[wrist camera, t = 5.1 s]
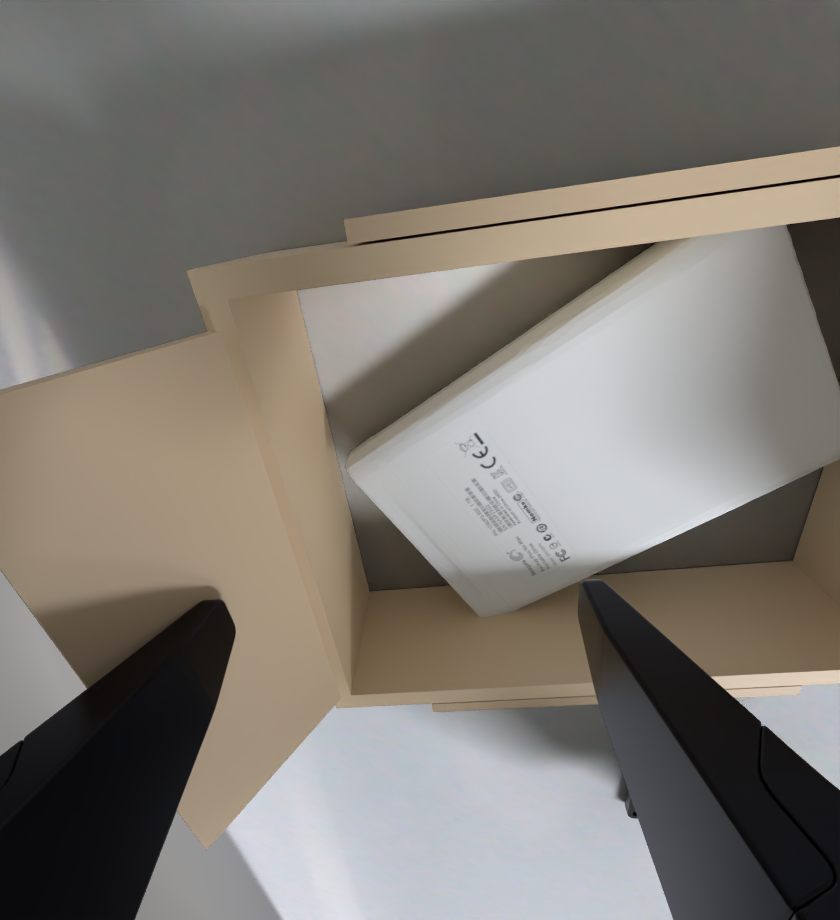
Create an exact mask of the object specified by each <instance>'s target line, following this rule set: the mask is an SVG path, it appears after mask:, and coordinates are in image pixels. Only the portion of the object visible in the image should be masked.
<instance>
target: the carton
mask: <svg viewBox="0 0 840 920" xmlns="http://www.w3.org/2000/svg"><path fill="white" fill-rule="evenodd" d="M838 217H840V146H839V147H832V148H825V149H819V150H812V151H805V152H798V153H791V154H785V155H778V156H771V157H764V158H757V159H751V160H744V161H737V162H730V163H723V164H717V165H710V166H703V167H696V168H689V169H683V170H676V171H669V172H662V173H655V174H649V175H642V176H635V177H628V178H621V179H615V180H608V181H601V182H594V183H587V184H581V185H574V186H567V187H560V188H553V189H547V190H540V191H533V192H526V193H519V194H513V195H506V196H499V197H492V198H485V199H479V200H472V201H465V202H458V203H451V204H444V205H438V206H431V207H424V208H417V209H410V210H404V211H397V212H390V213H383V214H376V215H370V216H363V217H356V218H349V219H343V222H344V227H345V233H346V238H347V241H343V242H336V243H329V244H322V245H315V246H308V247H301V248H294V249H287V250H280V251H273V252H266V253H262V254H257V255H253V256H248V257H244V258H239V259H234V260H230V261H225V262H221V263H216V264H212V265H207V266H203V267H198V268H194V269H189V270H186V271H187V274H188V277H189V280H190V283H191V286H192V289H193V292H194V295H195V298H196V301H197V303H198V306H199V309H200V312H201V315H202V318H203V321H204V324H205V327H206V330H207V331H220V333H221V336H222V339H223V342H224V345H225V348H226V351H227V354H228V357H229V360H230V363H231V366H232V369H233V372H234V375H235V378H236V381H237V384H238V387H239V390H240V393H241V396H242V399H243V402H244V405H245V408H246V411H247V415H248V418H249V421H250V424H251V427H252V430H253V433H254V436H255V439H256V442H257V445H258V448H259V451H260V454H261V457H262V460H263V463H264V466H265V469H266V472H267V475H268V478H269V481H270V484H271V487H272V490H273V493H274V496H275V499H276V502H277V505H278V508H279V511H280V514H281V518H282V521H283V524H284V527H285V530H286V533H287V536H288V539H289V542H290V545H291V548H292V551H293V554H294V557H295V560H296V563H297V566H298V569H299V572H300V575H301V578H302V581H303V584H304V587H305V590H306V593H307V596H308V599H309V602H310V605H311V608H312V611H313V614H314V617H315V621H316V624H317V627H318V630H319V633H320V636H321V639H322V642H323V645H324V648H325V651H326V654H327V657H328V660H329V663H330V666H331V669H332V672H333V675H334V678H335V681H336V684H337V687H338V690H339V693H340V696H341V699H340V700H339V701H338V702H337V703H336V704H335V705H336V708H351V707H371V706H391V705H411V704H431V703H432V706H433V712H449V711H470V710H490V709H511V708H532V707H553V706H574V705H595V704H598V701H597V698H596V694H595V690H594V686H593V682H592V677H591V673H590V668H589V664H588V660H587V655H586V651H585V646H584V642H583V638H582V633H581V629H580V624H579V619H578V595H579V584H580V582H581V581H582V580H589V579H601V580H603V581H605V582H606V583H607V584H608V585H609V586H610V587H611V588H613V589H614V590H615V591H616V592H617V593H618V594H619V595H620V596H621V597H623V598H624V599H625V600H626V601H627V602H628V603H629V604H630V605H631V606H633V607H634V608H635V609H636V610H637V611H638V612H639V613H640V614H641V615H643V616H644V617H645V618H646V619H647V620H648V621H649V622H650V623H651V624H653V625H654V626H655V627H656V628H657V629H658V630H659V631H660V632H661V633H663V634H664V635H665V636H666V637H667V638H668V639H669V640H670V641H671V642H673V643H674V644H675V645H676V646H677V647H678V648H679V649H680V650H682V651H683V652H684V653H685V654H686V655H687V656H688V657H689V658H690V659H692V660H693V661H694V662H695V663H696V664H697V665H698V666H699V667H700V668H702V669H703V670H704V671H705V672H706V673H707V674H708V675H709V676H710V677H712V678H713V679H714V680H715V681H716V682H717V683H718V684H719V685H720V686H722V687H723V688H724V689H725V690H726V691H727V692H728V693H729V694H730V695H732V696H733V697H734V698H741V697H761V696H782V695H799V692H800V690H801V688H802V685H813V684H834V683H840V459H839V460H836V461H834V462H832V463H830V464H828V465H825V466H824V468H823V471H822V474H821V477H820V480H819V483H818V486H817V489H816V492H815V495H814V498H813V501H812V504H811V507H810V510H809V513H808V517H807V520H806V523H805V526H804V529H803V532H802V535H801V538H800V541H799V544H798V547H797V550H796V553H795V556H794V559H793V561H782V562H769V563H755V564H741V565H727V566H713V567H700V568H686V569H672V570H658V571H644V572H631V573H617V574H603V575H591V576H589V577H587V578H585V579H582V580H580V581H578V582H576V583H574V584H572V585H569V586H567V587H565V588H563V589H561V590H559V591H556V592H554V593H552V594H550V595H548V596H546V597H543V598H541V599H539V600H537V601H535V602H532V603H530V604H528V605H526V606H524V607H521V608H519V609H517V610H516V611H513V612H510V613H506V614H501V615H495V616H489V617H479V616H478V615H477V614H476V613H475V611H474V610H473V609H472V608H471V607H470V606H469V605H468V604H467V603H466V602H465V601H464V600H463V599H462V597H461V596H460V595H459V594H458V593H457V592H456V591H455V590H454V589H453V588H452V587H451V586H438V587H424V588H410V589H396V590H383V591H369V587H368V583H367V579H366V575H365V571H364V567H363V562H362V558H361V554H360V550H359V546H358V542H357V538H356V533H355V529H354V525H353V521H352V517H351V513H350V509H349V505H348V500H347V496H346V492H345V488H344V484H343V480H342V476H341V471H340V467H339V463H338V459H337V455H336V451H335V447H334V443H333V438H332V434H331V430H330V426H329V422H328V418H327V414H326V409H325V405H324V401H323V397H322V393H321V389H320V385H319V380H318V376H317V372H316V368H315V364H314V360H313V356H312V352H311V347H310V343H309V339H308V335H307V331H306V327H305V323H304V318H303V314H302V310H301V306H300V302H299V298H298V294H297V290H302V289H309V288H317V287H324V286H332V285H339V284H346V283H354V282H361V281H369V280H376V279H384V278H391V277H399V276H406V275H414V274H421V273H428V272H436V271H443V270H451V269H458V268H466V267H473V266H481V265H488V264H496V263H503V262H510V261H518V260H525V259H533V258H540V257H548V256H555V255H563V254H570V253H578V252H585V251H592V250H600V249H607V248H615V247H622V246H630V245H637V244H645V243H652V242H660V241H667V240H674V239H682V238H689V237H697V236H704V235H712V234H719V233H727V232H734V231H741V230H749V229H756V228H764V227H771V226H779V225H786V224H794V223H801V222H809V221H816V220H823V219H831V218H838Z"/></svg>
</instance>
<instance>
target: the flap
mask: <svg viewBox="0 0 840 920" xmlns="http://www.w3.org/2000/svg"><path fill="white" fill-rule="evenodd" d="M0 570H1V572H2V573H3V574H4V576H5V577H6V579H7V580H8V581H9V583H10V584H11V585H12V587H13V588H14V589H15V591H16V592H17V593H18V595H19V596H20V598H21V599H22V600H23V602H24V603H25V604H26V606H27V607H28V609H29V610H30V611H31V612H32V614H33V615H34V617H35V618H36V619H37V621H38V622H39V624H40V625H41V626H42V628H43V629H44V630H45V632H46V633H47V635H48V636H49V637H50V639H51V640H52V641H53V643H54V644H55V645H56V647H57V648H58V650H59V651H60V652H61V653H62V655H63V656H64V658H65V659H66V660H67V662H68V663H69V665H70V666H71V667H72V669H73V670H74V671H75V673H76V674H77V675H78V677H79V678H80V680H81V681H82V682H83V684H84V685H85V686H86V688H87V689H88V688H89V687H90V686H92V685H93V684H94V683H96V682H97V681H98V680H99V679H101V678H102V677H103V676H105V675H106V674H107V673H109V672H110V671H111V670H112V669H114V668H115V667H116V666H118V665H119V664H120V663H121V662H123V661H124V660H125V659H127V658H128V657H129V656H131V655H132V654H133V653H134V652H136V651H137V650H138V649H140V648H141V647H142V646H143V645H145V644H146V643H147V642H149V641H150V640H151V639H153V638H154V637H155V636H156V635H158V634H159V633H160V632H162V631H163V630H164V629H166V628H167V627H168V626H169V625H171V624H172V623H173V622H175V621H176V620H177V619H178V618H180V617H181V616H182V615H184V614H185V613H186V612H188V611H189V610H190V609H191V608H193V607H194V606H195V605H197V604H198V603H199V602H201V601H203V600H211V599H221V600H223V601H224V602H225V604H226V606H227V608H228V610H229V613H230V615H231V617H232V619H233V622H234V624H235V627H236V636H235V640H234V644H233V648H232V651H231V655H230V659H229V662H228V666H227V670H226V673H225V677H224V680H223V684H222V688H221V691H220V695H219V698H218V702H217V705H216V708H215V711H214V714H213V717H212V719H211V722H210V725H209V727H208V730H207V733H206V735H205V738H204V740H203V743H202V746H201V748H200V751H199V753H198V756H197V759H196V761H195V764H194V766H193V769H192V772H191V774H190V777H189V780H188V782H187V785H186V787H185V790H184V793H183V795H182V798H181V800H180V803H179V806H178V808H177V812H178V813H179V815H180V816H181V817H182V819H183V820H184V822H185V823H186V824H187V826H188V827H189V828H190V830H191V831H192V832H193V834H194V835H195V837H196V838H197V839H198V841H199V842H200V843H201V844H202V846H203V847H204V848H205V850H207V849H208V848H209V847H210V846H211V845H212V843H213V842H214V841H215V840H216V839H217V838H218V837H219V836H220V835H221V833H222V832H223V831H224V830H225V829H226V828H227V827H228V826H229V824H230V823H231V822H232V821H233V820H234V819H235V818H236V817H237V815H238V814H239V813H240V812H241V811H242V810H243V809H244V807H245V806H246V805H247V804H248V803H249V802H250V801H251V800H252V798H253V797H254V796H255V795H256V794H257V793H258V792H259V790H260V789H261V788H262V787H263V786H264V785H265V784H266V782H267V781H268V780H269V779H270V778H271V777H272V776H273V775H274V773H275V772H276V771H277V770H278V769H279V768H280V767H281V765H282V764H283V763H284V762H285V761H286V760H287V759H288V758H289V756H290V755H291V754H292V753H293V752H294V751H295V750H296V748H297V747H298V746H299V745H300V744H301V743H302V742H303V741H304V739H305V738H306V737H307V736H308V735H309V734H310V733H311V731H312V730H313V729H314V728H315V727H316V726H317V725H318V724H319V722H320V721H321V720H322V719H323V718H324V717H325V716H326V714H327V713H328V712H329V711H330V710H331V709H332V708H333V707H334V705H335V704H336V703H337V702H338V701H339V700H340V699H341V696H340V693H339V690H338V687H337V684H336V681H335V678H334V675H333V672H332V669H331V666H330V663H329V660H328V657H327V654H326V651H325V648H324V645H323V642H322V639H321V636H320V633H319V630H318V627H317V624H316V621H315V617H314V614H313V611H312V608H311V605H310V602H309V599H308V596H307V593H306V590H305V587H304V584H303V581H302V578H301V575H300V572H299V569H298V566H297V563H296V560H295V557H294V554H293V551H292V548H291V545H290V542H289V539H288V536H287V533H286V530H285V527H284V524H283V521H282V518H281V514H280V511H279V508H278V505H277V502H276V499H275V496H274V493H273V490H272V487H271V484H270V481H269V478H268V475H267V472H266V469H265V466H264V463H263V460H262V457H261V454H260V451H259V448H258V445H257V442H256V439H255V436H254V433H253V430H252V427H251V424H250V421H249V418H248V415H247V411H246V408H245V405H244V402H243V399H242V396H241V393H240V390H239V387H238V384H237V381H236V378H235V375H234V372H233V369H232V366H231V363H230V360H229V357H228V354H227V351H226V348H225V345H224V342H223V339H222V336H221V333H220V331H207V332H203V333H200V334H196V335H193V336H189V337H185V338H182V339H178V340H175V341H171V342H168V343H164V344H161V345H157V346H154V347H150V348H146V349H143V350H139V351H136V352H132V353H129V354H125V355H122V356H118V357H115V358H111V359H108V360H104V361H100V362H97V363H93V364H90V365H86V366H83V367H79V368H76V369H72V370H69V371H65V372H61V373H58V374H54V375H51V376H47V377H44V378H40V379H37V380H33V381H30V382H26V383H22V384H19V385H15V386H12V387H8V388H5V389H1V390H0Z"/></svg>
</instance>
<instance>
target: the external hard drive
mask: <svg viewBox="0 0 840 920" xmlns="http://www.w3.org/2000/svg"><path fill="white" fill-rule="evenodd" d="M839 459H840V385H839V383H838V380H837V377H836V374H835V371H834V368H833V365H832V362H831V358H830V355H829V352H828V350H827V346H826V343H825V341H824V337H823V335H822V332H821V329H820V326H819V323H818V321H817V315H816V312H815V309H814V306H813V303H812V301H811V298H810V295H809V291H808V289H807V286H806V283H805V280H804V277H803V272H802V269H801V267H800V265H799V263H798V259H797V255H796V252H795V249H794V247H793V243H792V239H791V236H790V234H789V232H788V229H787V225H779V226H771V227H764V228H756V229H749V230H741V231H734V232H727V233H719V234H712V235H704V236H697V237H689V238H682V239H674V240H667V241H660V242H657V243H655V244H654V245H652V246H651V247H649V248H648V249H646V250H645V251H643V252H642V253H640V254H639V255H637V256H636V257H634V258H633V259H632V260H630V261H629V262H627V263H626V264H624V265H623V266H621V267H620V268H618V269H617V270H615V271H614V272H613V273H611V274H610V275H608V276H607V277H605V278H604V279H603V280H601V281H600V282H598V283H597V284H595V285H594V286H592V287H591V288H589V289H588V290H586V291H585V292H583V293H582V294H580V295H579V296H577V297H576V298H575V299H573V300H572V301H570V302H569V303H568V304H566V305H565V306H563V307H562V308H560V309H558V310H557V311H555V312H554V313H552V314H551V315H550V316H548V317H547V318H545V319H544V320H542V321H541V322H539V323H538V324H536V325H535V326H534V327H532V328H531V329H529V330H528V331H526V332H525V333H524V334H522V335H521V336H519V337H518V338H516V339H515V340H513V341H512V342H510V343H509V344H507V345H506V346H504V347H503V348H501V349H500V350H498V351H497V352H495V353H494V354H493V355H491V356H490V357H488V358H487V359H485V360H484V361H482V362H481V363H479V364H478V365H476V366H475V367H473V368H472V369H471V370H469V371H468V372H466V373H465V374H464V375H462V376H461V377H459V378H458V379H456V380H455V381H453V382H452V383H450V384H449V385H448V386H446V387H445V388H443V389H441V390H440V391H439V392H437V393H436V394H434V395H433V396H431V397H430V398H428V399H427V400H426V401H424V402H423V403H421V404H420V405H418V406H417V407H415V408H414V409H412V410H411V411H409V412H408V413H407V414H405V415H403V416H402V417H401V418H399V419H398V420H396V421H395V422H393V423H392V424H390V425H389V426H387V427H386V428H384V429H383V430H381V431H380V432H378V433H377V434H375V435H373V436H371V437H370V438H369V439H367V440H366V441H364V442H363V443H362V444H360V445H359V446H357V447H355V448H354V449H352V450H351V451H350V455H349V458H348V460H347V463H346V465H345V468H346V471H347V472H348V474H349V475H350V477H351V478H352V480H353V481H354V482H355V483H356V484H357V485H358V486H359V487H360V489H361V490H362V491H363V492H364V493H365V494H366V495H367V496H368V497H369V498H370V499H371V500H372V501H373V503H374V504H375V505H376V506H377V507H378V508H379V509H380V510H381V511H382V512H383V513H384V514H385V515H386V516H387V517H388V518H389V519H390V520H391V521H392V523H393V524H394V525H395V526H396V527H397V528H398V529H399V530H400V531H401V532H402V533H403V535H404V536H405V537H406V538H407V539H408V540H409V541H410V542H411V543H412V544H413V545H414V546H415V547H416V549H417V550H418V551H419V552H420V553H421V554H422V555H423V556H424V557H425V559H426V560H427V561H428V562H429V563H430V564H431V565H432V566H433V567H434V568H435V569H436V570H437V571H438V573H439V574H440V575H441V576H442V577H443V578H444V579H445V580H446V581H447V582H448V583H449V584H450V586H451V587H452V588H453V589H454V590H455V591H456V592H457V593H458V594H459V595H460V596H461V597H462V599H463V600H464V601H465V602H466V603H467V604H468V605H469V606H470V607H471V608H472V609H473V610H474V611H475V613H476V614H477V615H478V616H479V617H489V616H495V615H501V614H506V613H510V612H513V611H516V610H517V609H519V608H521V607H524V606H526V605H528V604H530V603H532V602H535V601H537V600H539V599H541V598H543V597H546V596H548V595H550V594H552V593H554V592H556V591H559V590H561V589H563V588H565V587H567V586H569V585H572V584H574V583H576V582H578V581H580V580H582V579H585V578H587V577H589V576H591V575H593V574H595V573H597V572H600V571H602V570H604V569H606V568H608V567H610V566H612V565H614V564H616V563H619V562H621V561H623V560H625V559H627V558H629V557H632V556H634V555H636V554H638V553H640V552H643V551H645V550H647V549H649V548H651V547H653V546H655V545H658V544H660V543H662V542H664V541H666V540H668V539H670V538H673V537H675V536H677V535H679V534H681V533H683V532H685V531H687V530H690V529H692V528H694V527H696V526H698V525H700V524H703V523H705V522H707V521H709V520H711V519H713V518H716V517H718V516H720V515H722V514H724V513H727V512H729V511H731V510H733V509H735V508H737V507H739V506H741V505H743V504H745V503H748V502H750V501H752V500H754V499H756V498H758V497H760V496H762V495H764V494H767V493H769V492H771V491H773V490H775V489H777V488H779V487H781V486H784V485H786V484H788V483H790V482H792V481H794V480H796V479H798V478H800V477H803V476H805V475H807V474H809V473H811V472H813V471H815V470H817V469H819V468H821V467H823V466H825V465H828V464H830V463H832V462H834V461H836V460H839Z"/></svg>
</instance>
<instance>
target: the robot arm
mask: <svg viewBox="0 0 840 920" xmlns="http://www.w3.org/2000/svg"><path fill="white" fill-rule="evenodd" d="M578 619H579V624H580V629H581V633H582V638H583V642H584V646H585V651H586V655H587V660H588V664H589V668H590V673H591V677H592V682H593V686H594V690H595V694H596V698H597V701H598V704H599V707H600V710H601V713H602V716H603V719H604V722H605V725H606V728H607V731H608V734H609V736H610V739H611V742H612V745H613V748H614V751H615V754H616V756H617V759H618V762H619V765H620V768H621V771H622V774H623V776H624V779H625V782H626V785H627V788H628V790H627V797H626V803H625V807H626V810H627V814H628V816H629V817H631V818H638V819H639V822H640V825H641V828H642V831H643V834H644V837H645V840H646V842H647V845H648V848H649V851H650V854H651V857H652V860H653V862H654V865H655V868H656V871H657V874H658V877H659V880H660V882H661V885H662V888H663V891H664V894H665V897H666V900H667V903H668V905H669V908H670V911H671V914H672V917H673V920H840V790H839V789H838V788H837V787H835V786H834V785H833V784H832V783H830V782H829V781H828V780H827V779H825V778H824V777H823V776H822V775H821V774H820V773H819V772H817V771H816V770H815V769H814V768H813V767H812V766H810V765H809V764H808V763H807V762H806V761H805V760H804V759H802V758H801V757H800V756H799V755H798V754H797V753H795V752H794V751H793V750H792V749H791V748H790V747H789V746H787V745H786V744H785V743H784V742H783V741H782V740H781V739H780V738H779V737H777V736H776V735H775V734H774V733H773V732H772V731H771V730H770V729H769V728H767V727H766V726H762V727H761V722H760V721H759V720H758V719H757V718H756V717H755V716H754V715H753V714H752V713H750V712H749V711H748V710H747V709H746V708H745V707H744V706H743V705H742V704H740V703H739V702H738V701H737V700H736V699H735V698H734V697H733V696H732V695H730V694H729V693H728V692H727V691H726V690H725V689H724V688H723V687H722V686H720V685H719V684H718V683H717V682H716V681H715V680H714V679H713V678H712V677H710V676H709V675H708V674H707V673H706V672H705V671H704V670H703V669H702V668H700V667H699V666H698V665H697V664H696V663H695V662H694V661H693V660H692V659H690V658H689V657H688V656H687V655H686V654H685V653H684V652H683V651H682V650H680V649H679V648H678V647H677V646H676V645H675V644H674V643H673V642H671V641H670V640H669V639H668V638H667V637H666V636H665V635H664V634H663V633H661V632H660V631H659V630H658V629H657V628H656V627H655V626H654V625H653V624H651V623H650V622H649V621H648V620H647V619H646V618H645V617H644V616H643V615H641V614H640V613H639V612H638V611H637V610H636V609H635V608H634V607H633V606H631V605H630V604H629V603H628V602H627V601H626V600H625V599H624V598H623V597H621V596H620V595H619V594H618V593H617V592H616V591H615V590H614V589H613V588H611V587H610V586H609V585H608V584H607V583H606V582H605V581H603V580H601V579H589V580H582V581H581V582H580V584H579V595H578ZM235 636H236V627H235V624H234V622H233V619H232V617H231V615H230V613H229V610H228V608H227V606H226V604H225V602H224V601H223V600H221V599H211V600H203V601H201V602H199V603H198V604H197V605H195V606H194V607H193V608H191V609H190V610H189V611H188V612H186V613H185V614H184V615H182V616H181V617H180V618H178V619H177V620H176V621H175V622H173V623H172V624H171V625H169V626H168V627H167V628H166V629H164V630H163V631H162V632H160V633H159V634H158V635H156V636H155V637H154V638H153V639H151V640H150V641H149V642H147V643H146V644H145V645H143V646H142V647H141V648H140V649H138V650H137V651H136V652H134V653H133V654H132V655H131V656H129V657H128V658H127V659H125V660H124V661H123V662H121V663H120V664H119V665H118V666H116V667H115V668H114V669H112V670H111V671H110V672H109V673H107V674H106V675H105V676H103V677H102V678H101V679H99V680H98V681H97V682H96V683H94V684H93V685H92V686H90V687H89V688H88V689H86V690H85V691H84V692H83V693H81V694H80V695H79V696H77V697H76V698H75V699H74V700H72V701H71V702H70V703H68V704H67V705H66V706H64V707H63V708H62V709H61V710H59V711H58V712H57V713H55V714H54V715H53V716H52V717H50V718H49V719H48V720H46V721H45V722H44V723H43V724H41V725H40V726H39V727H37V728H36V729H35V730H33V731H32V732H31V733H29V734H28V735H27V736H26V737H25V738H24V740H21V741H19V742H18V743H16V744H15V745H14V746H13V747H11V748H10V749H9V750H8V751H6V752H5V753H3V754H2V755H1V756H0V920H135V918H136V915H137V912H138V910H139V907H140V905H141V902H142V900H143V897H144V894H145V892H146V889H147V886H148V884H149V881H150V879H151V876H152V873H153V871H154V868H155V866H156V863H157V860H158V858H159V855H160V852H161V850H162V847H163V844H164V842H165V840H166V837H167V834H168V832H169V829H170V827H171V824H172V821H173V819H174V816H175V813H176V811H177V808H178V806H179V803H180V800H181V798H182V795H183V793H184V790H185V787H186V785H187V782H188V780H189V777H190V774H191V772H192V769H193V766H194V764H195V761H196V759H197V756H198V753H199V751H200V748H201V746H202V743H203V740H204V738H205V735H206V733H207V730H208V727H209V725H210V722H211V719H212V717H213V714H214V711H215V708H216V705H217V702H218V698H219V695H220V691H221V688H222V684H223V680H224V677H225V673H226V670H227V666H228V662H229V659H230V655H231V651H232V648H233V644H234V640H235Z"/></svg>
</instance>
